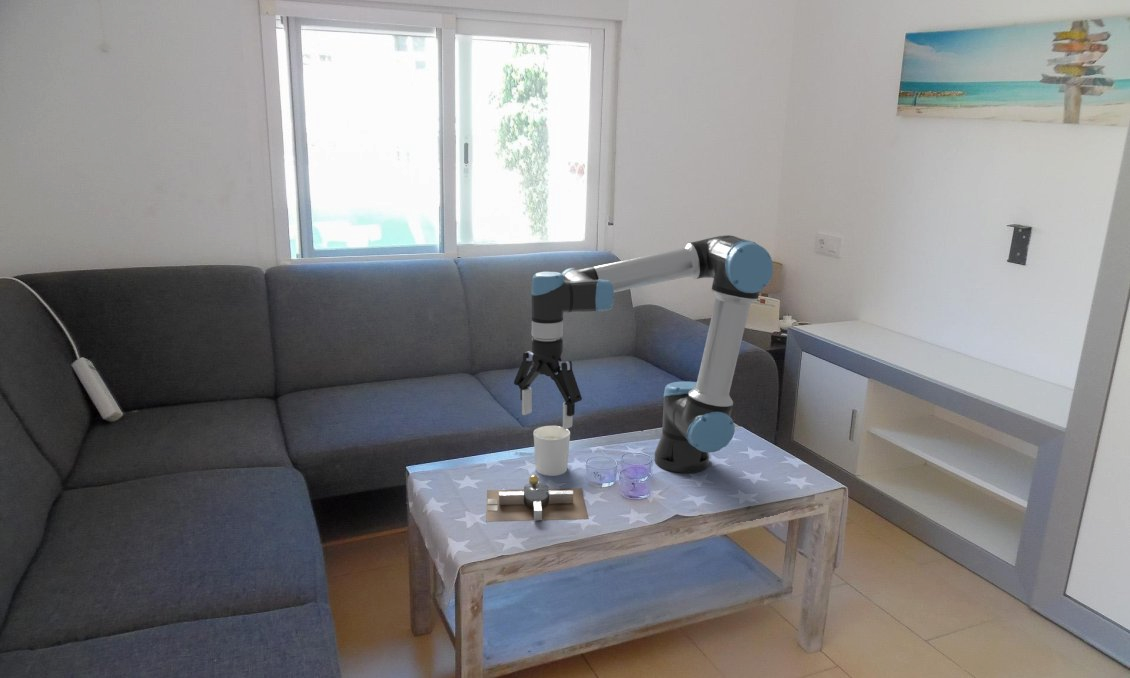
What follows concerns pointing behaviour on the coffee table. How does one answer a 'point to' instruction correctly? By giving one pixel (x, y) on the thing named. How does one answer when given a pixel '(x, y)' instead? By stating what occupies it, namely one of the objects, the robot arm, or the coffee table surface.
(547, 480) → the coffee table surface
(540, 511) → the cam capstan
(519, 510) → the level base
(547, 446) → the candle holder
